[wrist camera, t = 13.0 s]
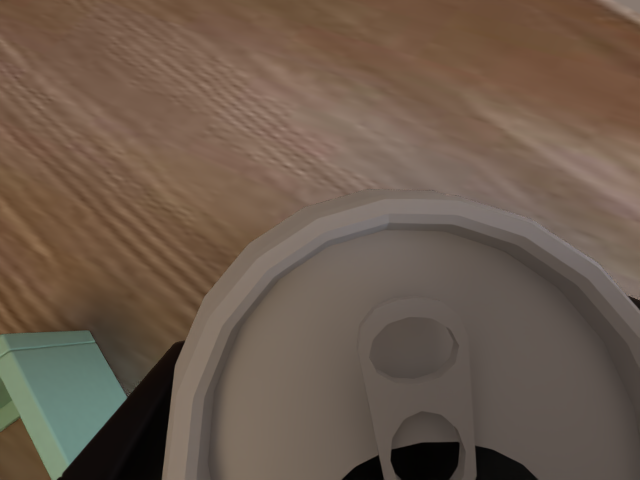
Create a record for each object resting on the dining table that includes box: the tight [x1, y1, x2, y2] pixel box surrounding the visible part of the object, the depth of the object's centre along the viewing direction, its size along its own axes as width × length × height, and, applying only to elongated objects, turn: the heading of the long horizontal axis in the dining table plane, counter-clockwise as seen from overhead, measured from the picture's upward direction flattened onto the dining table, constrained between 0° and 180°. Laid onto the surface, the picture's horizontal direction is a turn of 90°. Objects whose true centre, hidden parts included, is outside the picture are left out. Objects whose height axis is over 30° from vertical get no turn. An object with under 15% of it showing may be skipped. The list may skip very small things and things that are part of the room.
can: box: [162, 189, 640, 480], centre depth 10 cm, size 8×8×12 cm
